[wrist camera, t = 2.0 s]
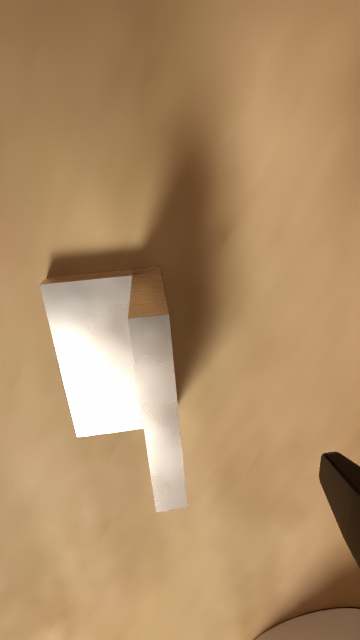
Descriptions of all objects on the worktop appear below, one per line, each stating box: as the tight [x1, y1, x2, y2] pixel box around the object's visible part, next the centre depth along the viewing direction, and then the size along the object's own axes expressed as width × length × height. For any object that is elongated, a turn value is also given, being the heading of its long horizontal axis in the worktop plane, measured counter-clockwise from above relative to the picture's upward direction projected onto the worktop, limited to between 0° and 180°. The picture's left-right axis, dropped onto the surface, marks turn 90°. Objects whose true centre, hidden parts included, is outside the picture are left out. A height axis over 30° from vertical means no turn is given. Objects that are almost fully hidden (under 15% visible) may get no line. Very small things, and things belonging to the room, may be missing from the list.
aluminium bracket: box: [40, 266, 187, 512], centre depth 14 cm, size 8×5×6 cm, turn 4°
